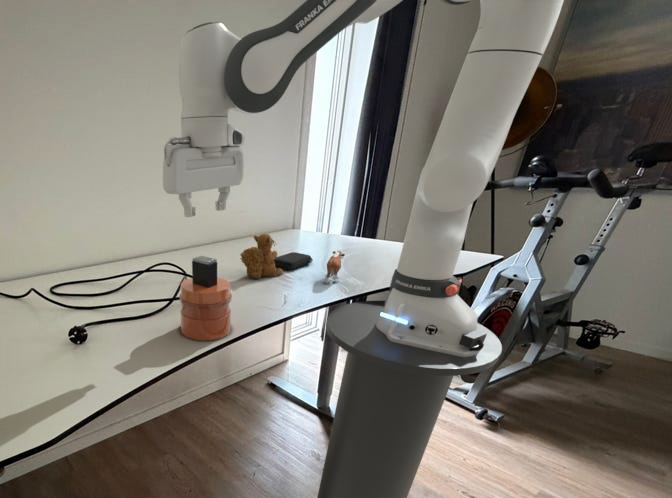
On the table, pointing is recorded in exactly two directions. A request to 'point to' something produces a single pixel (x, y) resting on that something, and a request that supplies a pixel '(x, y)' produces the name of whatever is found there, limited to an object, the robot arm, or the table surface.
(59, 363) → the table surface
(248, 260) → the stuffed squirrel
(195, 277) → the black block
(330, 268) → the bull figurine
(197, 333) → the orange short cylinder
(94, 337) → the table surface
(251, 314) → the table surface
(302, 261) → the carrying case
